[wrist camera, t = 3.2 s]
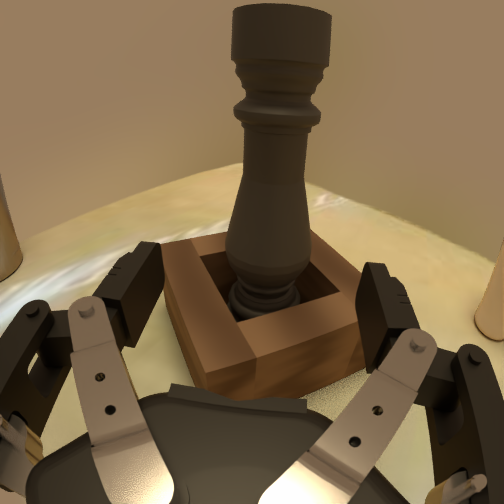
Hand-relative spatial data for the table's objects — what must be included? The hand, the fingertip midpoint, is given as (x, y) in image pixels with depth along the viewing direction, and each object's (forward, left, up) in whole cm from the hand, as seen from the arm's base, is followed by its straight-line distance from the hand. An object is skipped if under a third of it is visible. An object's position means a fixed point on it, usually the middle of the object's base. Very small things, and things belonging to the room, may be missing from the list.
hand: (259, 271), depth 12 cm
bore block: (+5, +8, -14) cm, 17 cm away
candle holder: (+5, +8, -14) cm, 17 cm away
